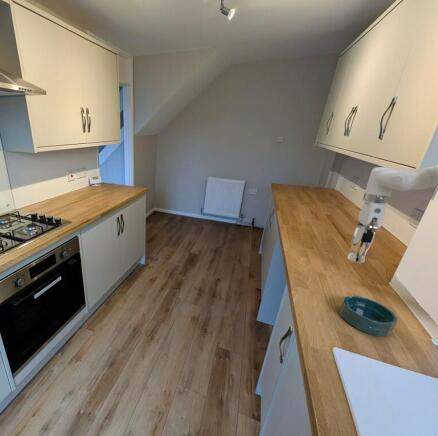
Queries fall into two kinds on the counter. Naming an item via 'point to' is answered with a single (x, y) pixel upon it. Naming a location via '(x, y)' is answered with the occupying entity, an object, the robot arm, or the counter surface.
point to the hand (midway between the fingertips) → (362, 238)
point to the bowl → (368, 315)
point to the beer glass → (358, 245)
